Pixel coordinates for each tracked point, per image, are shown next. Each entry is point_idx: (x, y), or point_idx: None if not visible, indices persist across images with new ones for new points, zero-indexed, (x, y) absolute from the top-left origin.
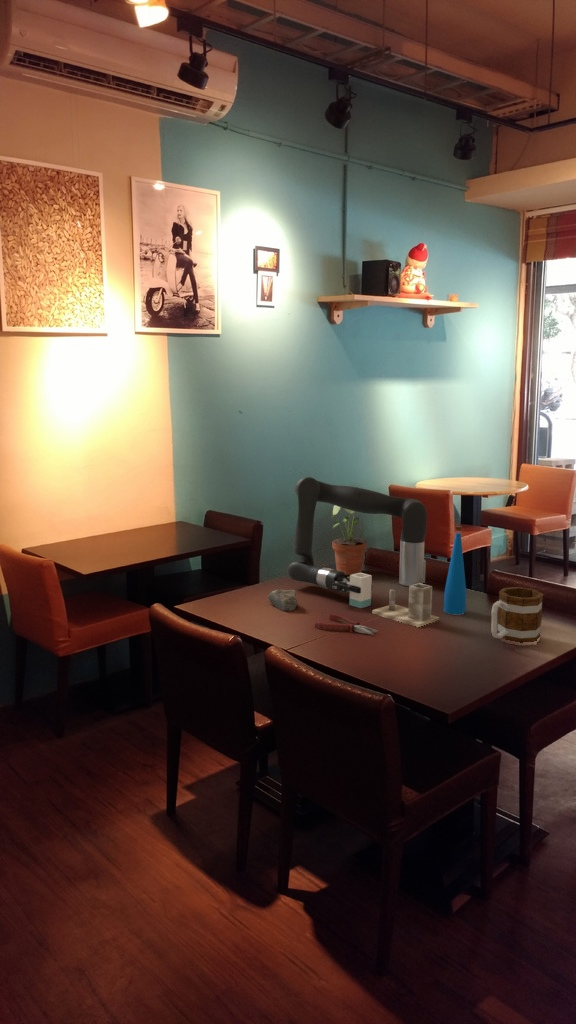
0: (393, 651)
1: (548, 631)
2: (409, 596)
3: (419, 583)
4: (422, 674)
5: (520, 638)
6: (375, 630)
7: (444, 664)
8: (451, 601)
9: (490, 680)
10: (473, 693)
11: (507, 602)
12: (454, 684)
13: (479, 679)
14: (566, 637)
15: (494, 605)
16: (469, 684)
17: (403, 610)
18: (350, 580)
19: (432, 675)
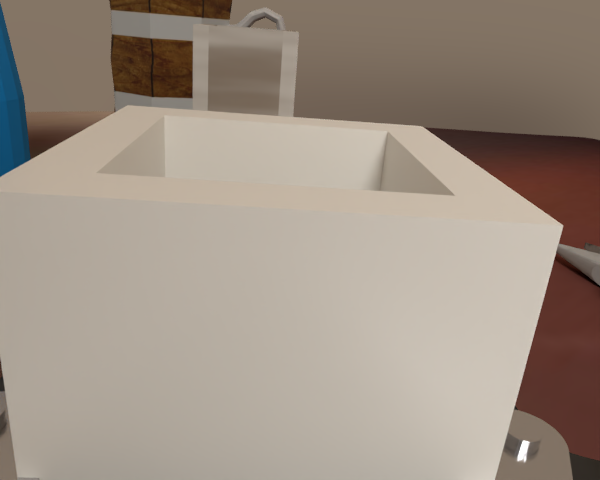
0: (569, 200)
1: (57, 119)
2: (293, 103)
3: (202, 25)
4: (561, 161)
5: None
6: (562, 246)
7: (474, 156)
8: (26, 135)
9: (438, 132)
10: (507, 134)
11: (229, 14)
12: (518, 143)
13: (455, 136)
14: (84, 111)
15: (282, 19)
16: (489, 138)
17: None
18: (507, 377)
19: (540, 156)
